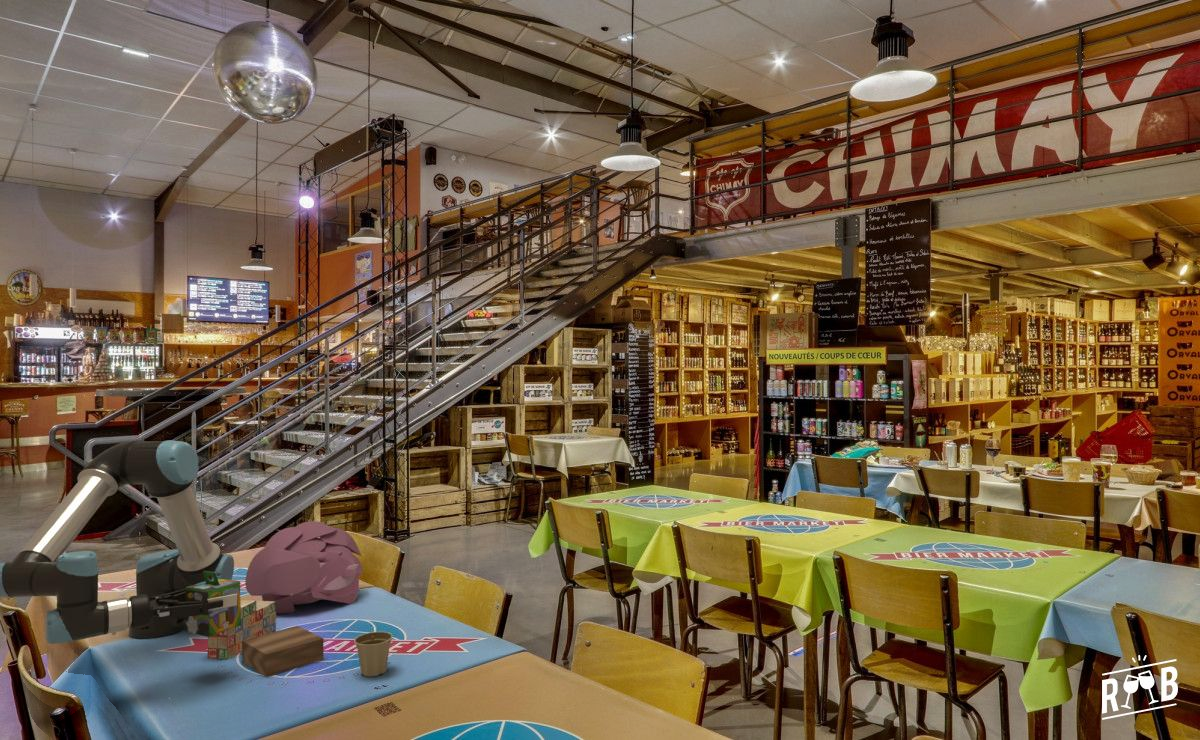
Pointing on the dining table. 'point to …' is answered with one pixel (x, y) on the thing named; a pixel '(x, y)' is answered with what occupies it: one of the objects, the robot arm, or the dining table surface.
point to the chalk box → (215, 618)
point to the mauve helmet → (306, 567)
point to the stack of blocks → (244, 629)
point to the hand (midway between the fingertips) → (230, 594)
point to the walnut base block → (282, 650)
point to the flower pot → (373, 652)
